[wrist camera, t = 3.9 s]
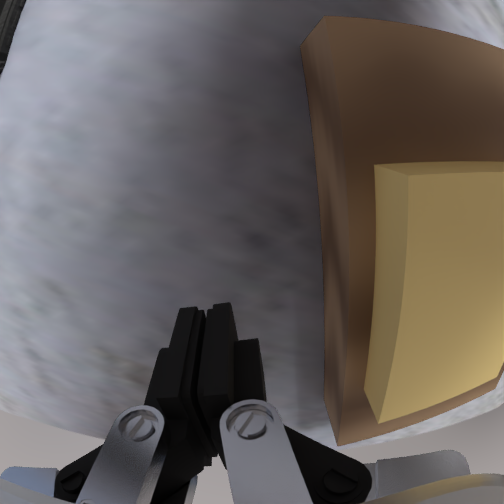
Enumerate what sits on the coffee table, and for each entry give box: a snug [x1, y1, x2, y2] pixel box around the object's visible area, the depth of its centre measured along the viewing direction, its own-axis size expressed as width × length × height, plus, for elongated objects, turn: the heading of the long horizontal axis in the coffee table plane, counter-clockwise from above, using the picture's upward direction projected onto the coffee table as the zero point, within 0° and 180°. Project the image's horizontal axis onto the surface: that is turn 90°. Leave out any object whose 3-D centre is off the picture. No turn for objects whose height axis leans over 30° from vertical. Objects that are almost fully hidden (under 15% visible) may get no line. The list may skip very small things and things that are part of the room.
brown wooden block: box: [300, 16, 504, 446], centre depth 13 cm, size 20×12×4 cm, turn 8°
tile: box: [364, 161, 504, 424], centre depth 10 cm, size 10×7×2 cm
